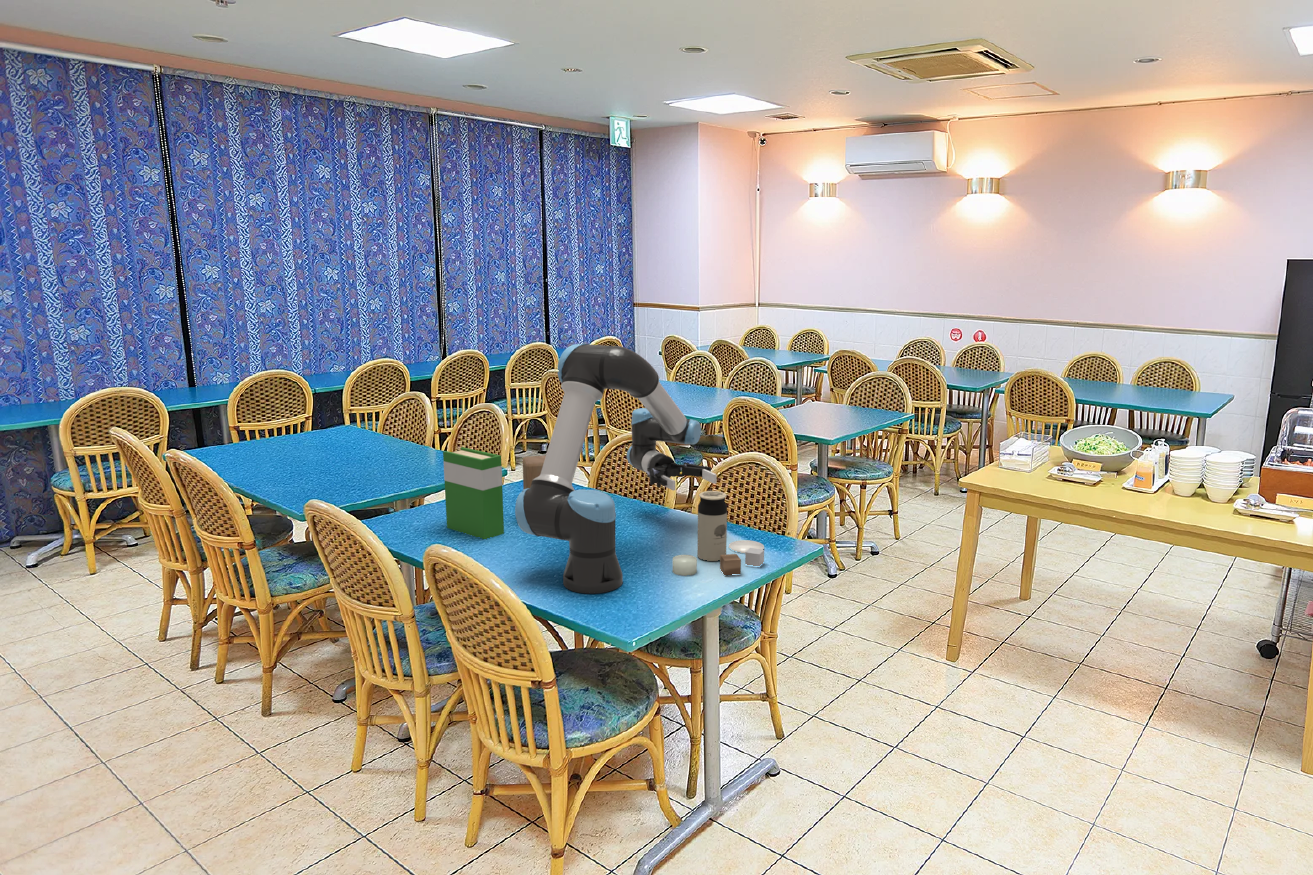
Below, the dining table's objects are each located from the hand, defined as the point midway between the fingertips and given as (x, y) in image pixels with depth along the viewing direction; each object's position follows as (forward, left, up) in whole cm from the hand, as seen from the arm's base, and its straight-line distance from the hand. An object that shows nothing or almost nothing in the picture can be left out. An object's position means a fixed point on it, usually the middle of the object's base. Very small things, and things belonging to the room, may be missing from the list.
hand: (695, 482), depth 243 cm
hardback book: (+3, +67, -19) cm, 70 cm away
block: (+16, +50, -19) cm, 56 cm away
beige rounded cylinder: (-20, 0, -19) cm, 28 cm away
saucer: (+1, -15, -19) cm, 24 cm away
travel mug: (-8, -6, -19) cm, 22 cm away
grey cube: (-12, -18, -19) cm, 29 cm away
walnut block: (-19, -12, -19) cm, 29 cm away
